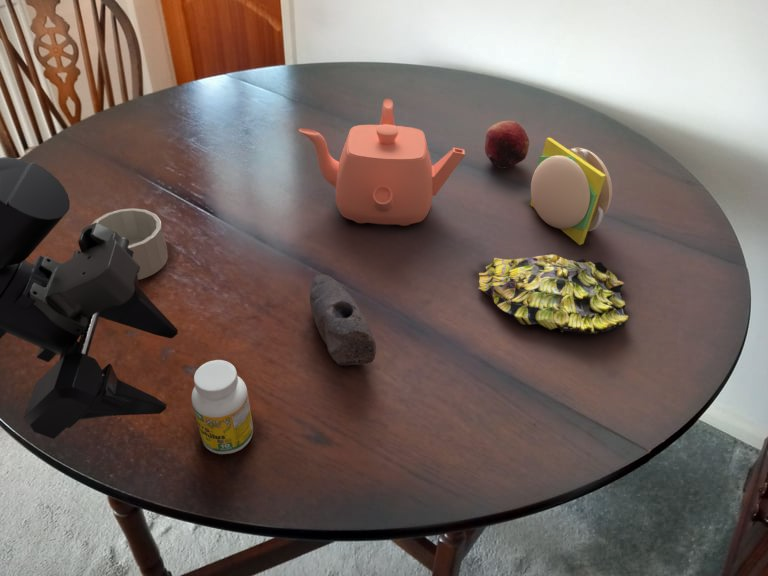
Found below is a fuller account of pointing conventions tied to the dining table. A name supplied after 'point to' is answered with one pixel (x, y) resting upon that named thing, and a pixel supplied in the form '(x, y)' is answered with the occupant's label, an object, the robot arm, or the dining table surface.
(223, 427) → the supplement bottle
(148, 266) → the beige cup
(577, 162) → the hamburger
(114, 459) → the dining table surface
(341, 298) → the perforated stone tool
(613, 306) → the scaly yellow mound
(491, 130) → the fruit
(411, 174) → the teapot
